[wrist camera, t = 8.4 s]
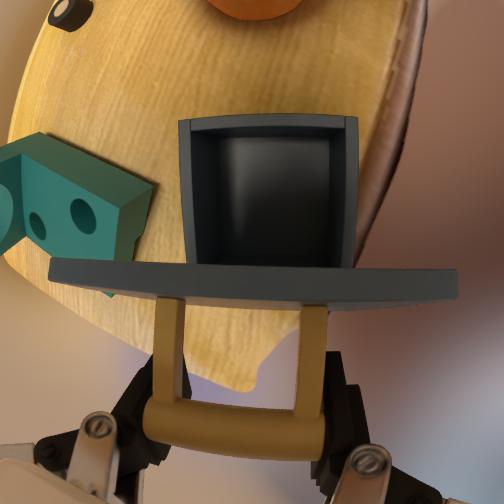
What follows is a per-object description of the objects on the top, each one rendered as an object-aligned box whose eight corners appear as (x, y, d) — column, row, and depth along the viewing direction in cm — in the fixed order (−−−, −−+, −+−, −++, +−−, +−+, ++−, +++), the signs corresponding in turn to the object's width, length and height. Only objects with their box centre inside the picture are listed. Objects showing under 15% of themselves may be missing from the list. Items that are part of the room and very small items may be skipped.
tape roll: (68, 10, 18) (51, 2, 15) (96, -5, 18) (79, -14, 14) (62, 37, 20) (44, 31, 16) (89, 23, 19) (71, 14, 16)
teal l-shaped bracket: (38, 206, 29) (-18, 245, 20) (39, 131, 23) (-32, 162, 14) (136, 270, 29) (80, 334, 21) (153, 185, 23) (71, 244, 15)
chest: (212, 131, 22) (177, 120, 15) (336, 130, 21) (358, 116, 14) (217, 258, 26) (189, 296, 19) (332, 261, 25) (348, 302, 17)
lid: (49, 256, 6) (50, 427, 5) (458, 268, 5) (431, 476, 4) (188, 294, 18) (184, 371, 17) (349, 300, 17) (344, 380, 16)
